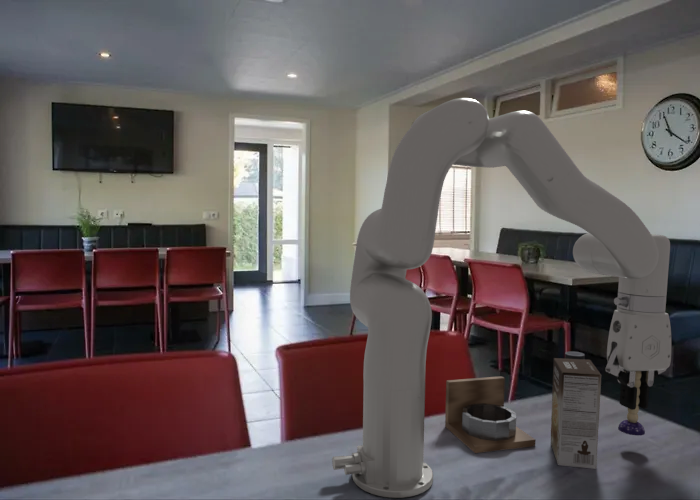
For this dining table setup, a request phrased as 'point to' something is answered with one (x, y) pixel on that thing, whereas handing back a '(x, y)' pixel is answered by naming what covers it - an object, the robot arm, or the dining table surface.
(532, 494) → the dining table surface
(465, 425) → the grey faceted ring
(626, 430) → the toy lamp
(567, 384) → the coffee box
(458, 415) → the bracket
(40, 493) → the dining table surface
